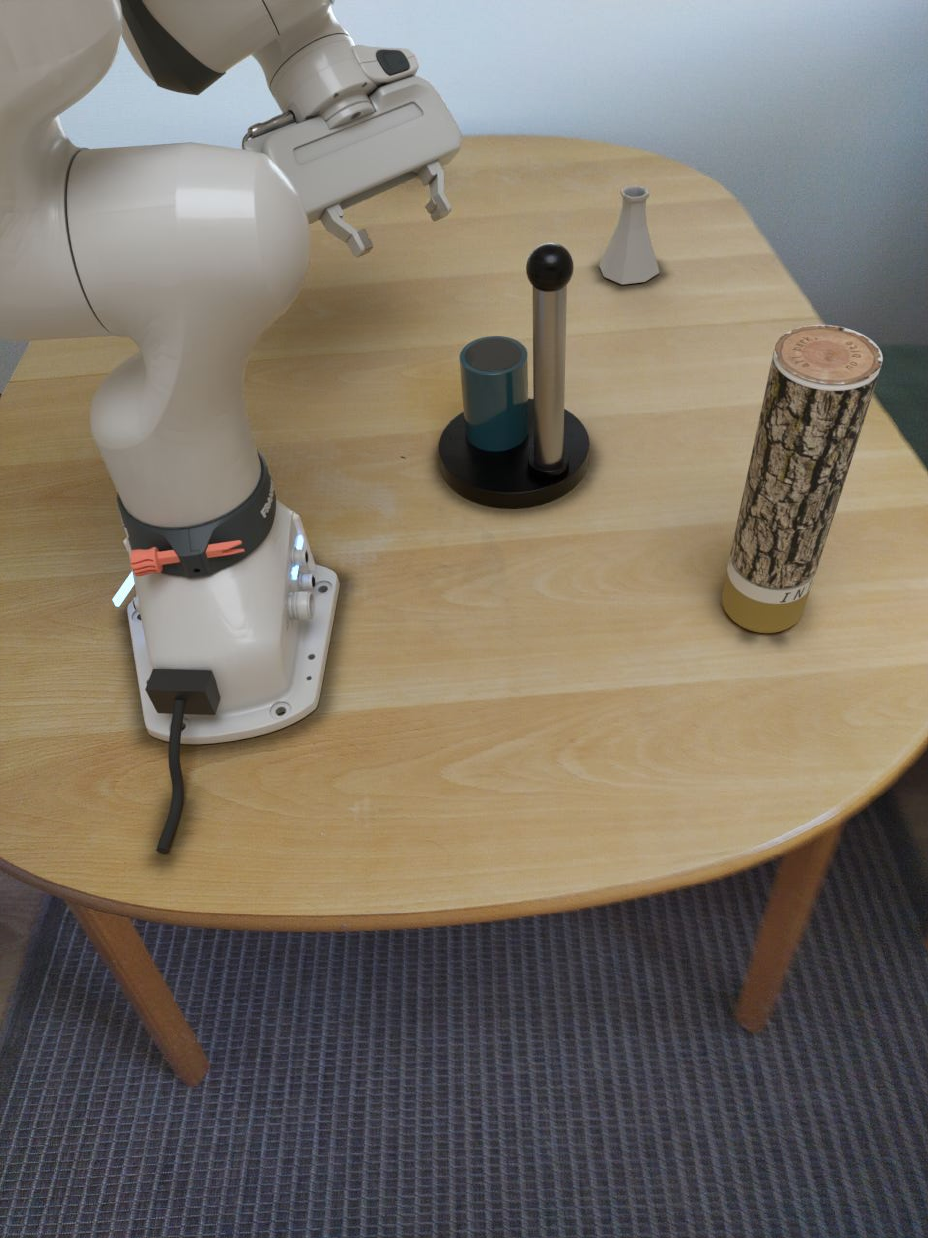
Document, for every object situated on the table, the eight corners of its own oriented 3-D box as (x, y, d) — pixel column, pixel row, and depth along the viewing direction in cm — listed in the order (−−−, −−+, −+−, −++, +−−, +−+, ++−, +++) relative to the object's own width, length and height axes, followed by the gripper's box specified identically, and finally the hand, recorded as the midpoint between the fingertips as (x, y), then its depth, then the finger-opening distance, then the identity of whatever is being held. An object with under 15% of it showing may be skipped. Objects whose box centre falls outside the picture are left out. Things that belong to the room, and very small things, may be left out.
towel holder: (410, 458, 96) (379, 227, 78) (518, 395, 102) (513, 166, 84) (508, 531, 89) (500, 293, 70) (619, 458, 94) (638, 221, 76)
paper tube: (709, 621, 80) (761, 369, 61) (733, 568, 84) (790, 316, 65) (790, 647, 77) (870, 394, 59) (811, 592, 81) (893, 337, 62)
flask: (589, 265, 119) (592, 186, 112) (638, 250, 121) (644, 171, 113) (619, 291, 115) (624, 211, 107) (669, 275, 116) (678, 195, 109)
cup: (534, 446, 93) (533, 368, 87) (470, 456, 93) (464, 378, 86) (522, 408, 98) (520, 330, 91) (460, 417, 97) (454, 339, 90)
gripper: (239, 112, 80) (324, 261, 82) (425, 44, 88) (499, 181, 90) (225, 151, 86) (305, 289, 88) (401, 83, 94) (471, 211, 96)
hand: (405, 234), depth 89 cm, fingers open, 8 cm apart
